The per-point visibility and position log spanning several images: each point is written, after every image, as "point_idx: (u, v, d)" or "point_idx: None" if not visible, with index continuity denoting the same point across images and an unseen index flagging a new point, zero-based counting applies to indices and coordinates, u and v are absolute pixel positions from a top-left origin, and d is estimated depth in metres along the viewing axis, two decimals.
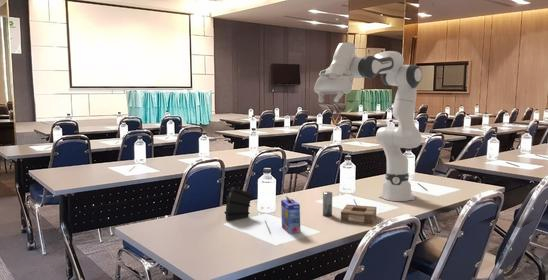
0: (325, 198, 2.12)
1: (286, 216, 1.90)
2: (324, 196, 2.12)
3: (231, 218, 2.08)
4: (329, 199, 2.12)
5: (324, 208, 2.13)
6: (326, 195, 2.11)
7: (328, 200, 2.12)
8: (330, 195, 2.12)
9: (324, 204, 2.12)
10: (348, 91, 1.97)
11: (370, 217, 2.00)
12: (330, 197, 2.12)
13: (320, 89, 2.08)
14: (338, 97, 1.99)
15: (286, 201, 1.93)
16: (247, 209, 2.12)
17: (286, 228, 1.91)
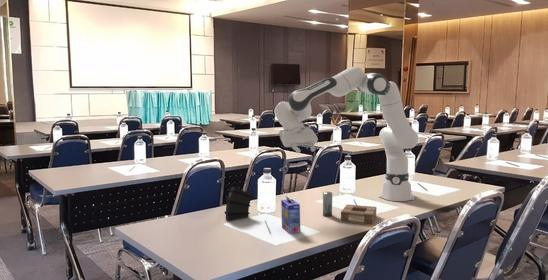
0: (325, 198, 2.12)
1: (286, 216, 1.90)
2: (324, 196, 2.12)
3: (231, 218, 2.08)
4: (329, 199, 2.12)
5: (324, 208, 2.13)
6: (326, 195, 2.11)
7: (328, 200, 2.12)
8: (330, 195, 2.12)
9: (324, 204, 2.12)
10: (286, 144, 2.15)
11: (370, 217, 2.00)
12: (330, 197, 2.12)
13: None
14: (295, 149, 2.16)
15: (286, 201, 1.93)
16: (247, 209, 2.12)
17: (286, 228, 1.91)
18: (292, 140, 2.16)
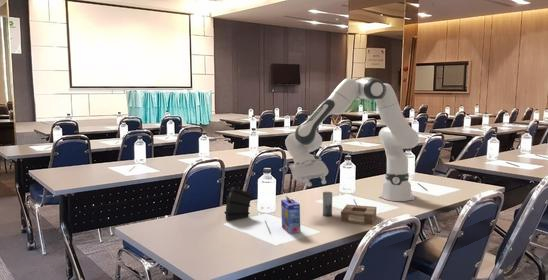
0: (325, 198, 2.12)
1: (286, 216, 1.90)
2: (324, 196, 2.12)
3: (231, 218, 2.08)
4: (329, 199, 2.12)
5: (324, 208, 2.13)
6: (326, 195, 2.11)
7: (328, 200, 2.12)
8: (330, 195, 2.12)
9: (324, 204, 2.12)
10: (297, 177, 2.15)
11: (370, 217, 2.00)
12: (330, 197, 2.12)
13: None
14: (306, 182, 2.16)
15: (286, 201, 1.93)
16: (247, 209, 2.12)
17: (286, 228, 1.91)
18: (303, 174, 2.16)
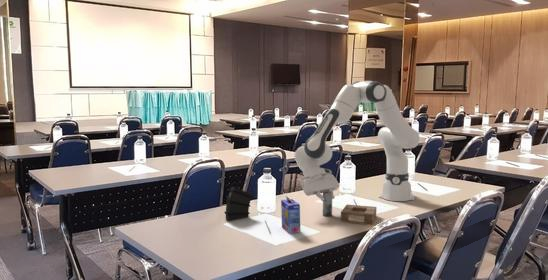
0: None
1: (286, 216, 1.90)
2: None
3: (231, 218, 2.08)
4: (329, 199, 2.12)
5: (324, 208, 2.13)
6: (326, 195, 2.11)
7: (328, 200, 2.12)
8: (330, 195, 2.12)
9: (324, 204, 2.12)
10: (308, 192, 2.10)
11: (370, 217, 2.00)
12: (330, 197, 2.12)
13: None
14: (320, 197, 2.12)
15: (286, 201, 1.93)
16: (247, 209, 2.12)
17: (286, 228, 1.91)
18: (314, 188, 2.11)
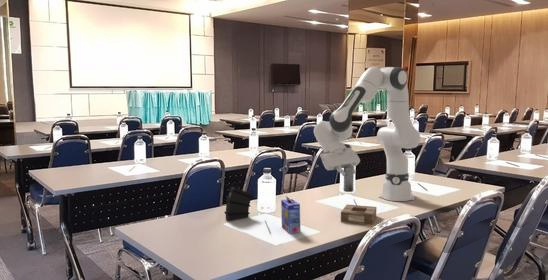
0: None
1: (286, 216, 1.90)
2: None
3: (231, 218, 2.08)
4: (350, 173, 2.06)
5: (345, 183, 2.08)
6: (347, 170, 2.06)
7: (349, 175, 2.06)
8: (351, 170, 2.07)
9: (346, 179, 2.07)
10: (329, 167, 2.05)
11: (370, 217, 2.00)
12: (351, 172, 2.07)
13: None
14: (341, 171, 2.07)
15: (286, 201, 1.93)
16: (247, 209, 2.12)
17: (286, 228, 1.91)
18: (335, 163, 2.06)
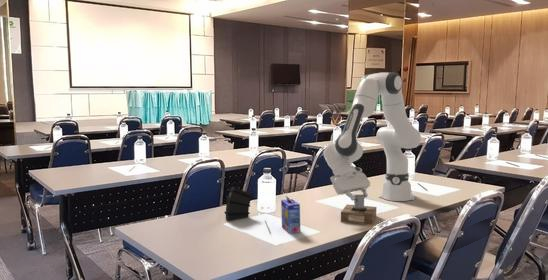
0: (357, 202, 2.06)
1: (286, 216, 1.90)
2: (356, 199, 2.06)
3: (231, 218, 2.08)
4: (361, 202, 2.06)
5: None
6: (358, 198, 2.05)
7: (360, 203, 2.06)
8: (362, 198, 2.06)
9: (356, 208, 2.06)
10: (340, 191, 2.03)
11: (370, 217, 2.00)
12: (362, 200, 2.06)
13: None
14: (350, 196, 2.05)
15: (286, 201, 1.93)
16: (247, 209, 2.12)
17: (286, 228, 1.91)
18: (345, 187, 2.05)
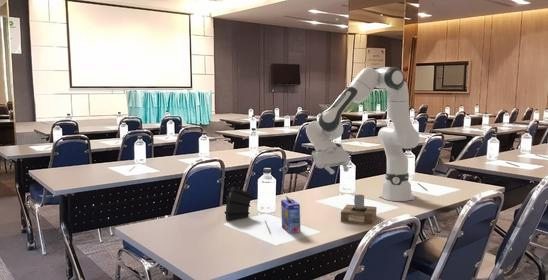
0: (357, 202, 2.06)
1: (286, 216, 1.90)
2: (356, 199, 2.06)
3: (231, 218, 2.08)
4: (361, 202, 2.06)
5: None
6: (358, 198, 2.05)
7: (360, 203, 2.06)
8: (362, 198, 2.06)
9: (356, 208, 2.06)
10: (320, 165, 2.12)
11: (370, 217, 2.00)
12: (362, 200, 2.06)
13: None
14: (329, 170, 2.14)
15: (286, 201, 1.93)
16: (247, 209, 2.12)
17: (286, 228, 1.91)
18: (325, 161, 2.14)
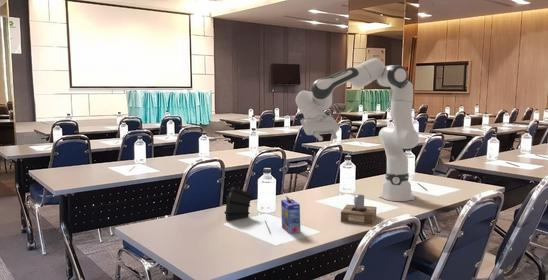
0: (357, 202, 2.06)
1: (286, 216, 1.90)
2: (356, 199, 2.06)
3: (231, 218, 2.08)
4: (361, 202, 2.06)
5: None
6: (358, 198, 2.05)
7: (360, 203, 2.06)
8: (362, 198, 2.06)
9: (356, 208, 2.06)
10: (308, 131, 2.14)
11: (370, 217, 2.00)
12: (362, 200, 2.06)
13: None
14: (317, 137, 2.16)
15: (286, 201, 1.93)
16: (247, 209, 2.12)
17: (286, 228, 1.91)
18: (314, 128, 2.16)
